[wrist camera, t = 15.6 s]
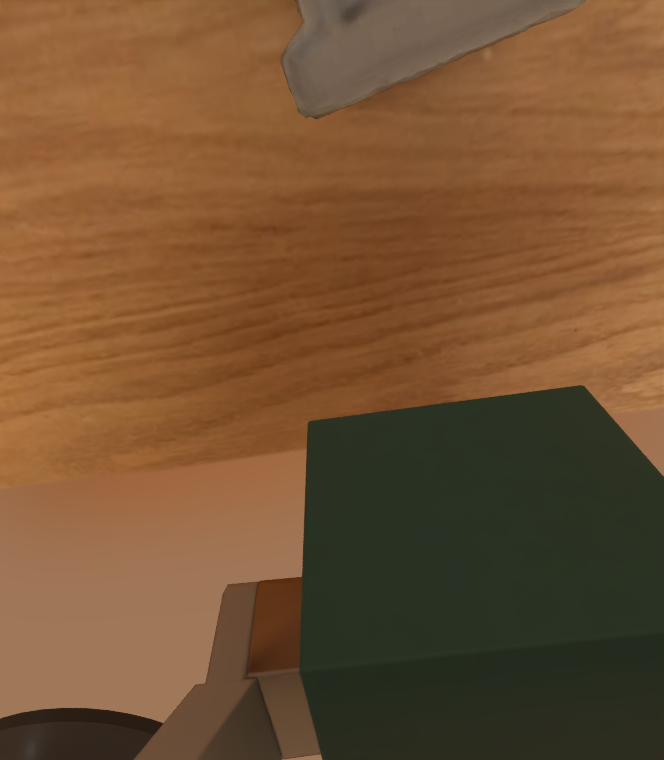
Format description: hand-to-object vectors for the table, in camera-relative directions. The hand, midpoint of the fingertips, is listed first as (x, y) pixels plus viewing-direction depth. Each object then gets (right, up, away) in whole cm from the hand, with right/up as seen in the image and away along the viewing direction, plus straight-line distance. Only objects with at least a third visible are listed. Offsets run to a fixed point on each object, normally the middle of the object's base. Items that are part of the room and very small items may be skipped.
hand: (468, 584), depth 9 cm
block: (0, +1, +2) cm, 2 cm away
